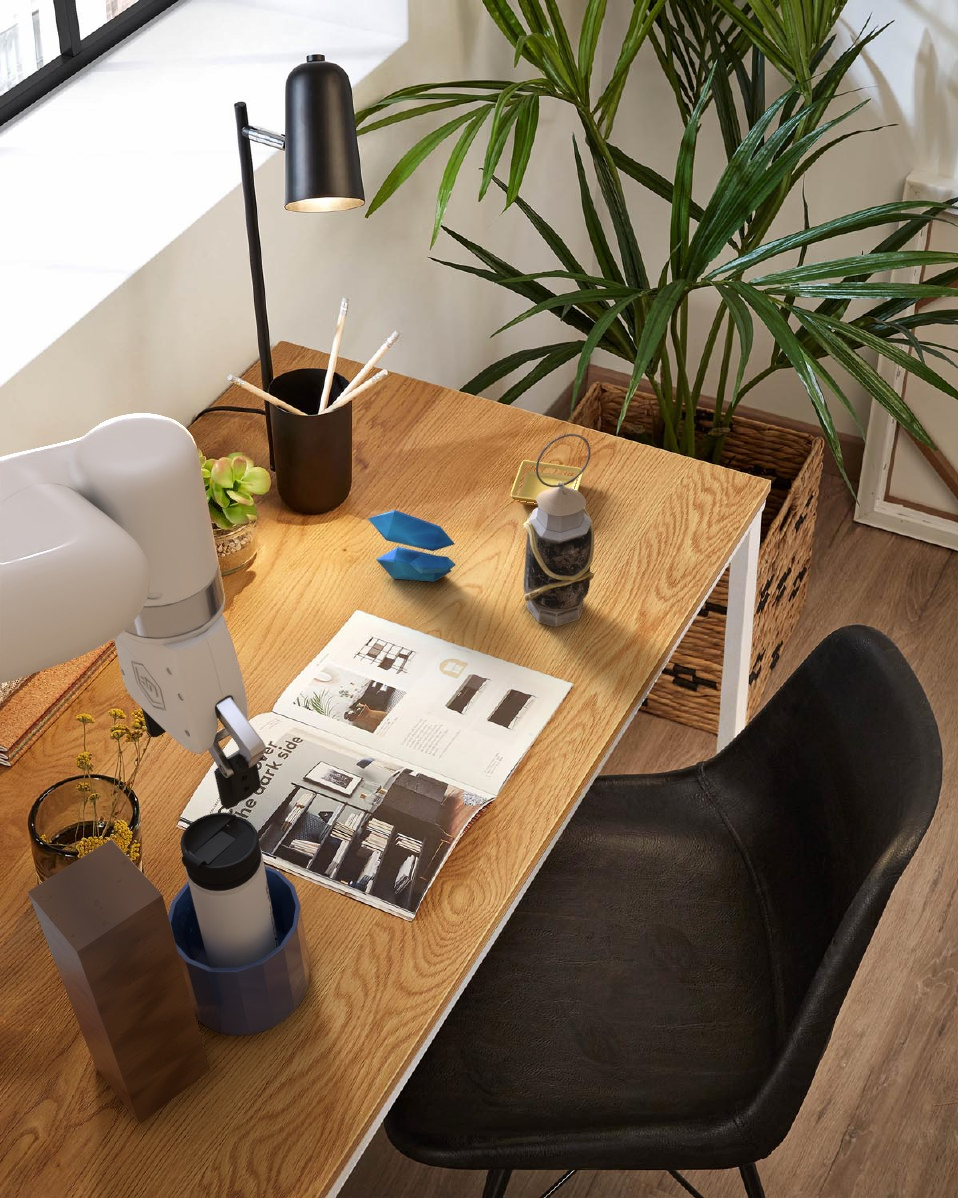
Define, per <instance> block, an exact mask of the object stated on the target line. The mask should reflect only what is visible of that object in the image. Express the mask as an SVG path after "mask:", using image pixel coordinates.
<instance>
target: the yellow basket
mask: <svg viewBox="0 0 958 1198" xmlns="http://www.w3.org/2000/svg"><path fill="white" fill-rule="evenodd" d="M536 463H537V461H535V460H528V459H524V460H522V461H521V463H520V466H519V468H518V471H517V474H516V477H515V480H514V483H513V484H512V485H513V486H512V488H511V491H510V494H509V495H510V497H511V498H512V499H513V500H514V501H515V500H519V501H516V502H517V503H519V504H522V505H527V506H535V507H538V504H534V503H537V502H536V498H537V496H538V495H539V494H540V493H541V492H543V491H545V490H548V489H551V488H555V487H549V486H546V485H544V484H542V483H541V482H540V481H539V479H538V477H537V474H536V472H535V471H527V472H526V475H525V478H524V481H523V484H522V487H521V490H520V493H519V495H518V496H516V495H517V491H518V488H519V484H520V480H521V477H522V474H523V470H524V467H525V465H532V466H536ZM538 467H541V468H542V467H546V468H552V469H559V470H562V471H566V472H569V473H580V471H581V470H582V469H583V468H581V467H578V466H571V465H570V466H569V465H563V464H556V463H549V462H542V461H539V465H538ZM584 472H585V470H584V471H583V472H582V474H581V475H580V476H579V478H578V481H577V484H576V487H575V490H577V491H578V492H579V490H580V486H581V484H582V483H581V482H582V479H583V475H584ZM538 473H539V476H540V478H541V479H542V481H544V482H545V483H547V484H550V485H558V483H559V482H560V481H561V482H563V483H566V482H568V481H570V480H571V479H573V478H574V476H567V475H559V474H551V473H543V472H538ZM575 483H576V479H575V480H574V481H573V482H571V483H569V484H567V485H565V487H570V488H573V489H574V486H575ZM520 501H526V502H520ZM527 502H534V503H527Z"/></svg>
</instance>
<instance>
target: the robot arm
mask: <svg viewBox="0 0 958 1198" xmlns="http://www.w3.org/2000/svg"><path fill="white" fill-rule="evenodd" d="M203 474H204V473H203V469H202V463H201V459H200V455H199V451H198V447H197V443H196V441H195V439H194V437H193V436H192V434H191V433H190V431H188V430H187V428H186V427H185V426H183V425H182V424H181V423H180V422H178V421H176V420H174V419H172V418H170V417H166V416H164V415H163V416H162V415H159V414H153V413H131V414H130V413H129V414H124V415H119V416H117V417H113V418H111V419H108V420H106V421H103V422H102V423H100V424H98V425H96V426H95V427H93V428H92V429H90V430H89V431H87V433H86V434H84V435H83V436H82V437H79V438H75V439H70V440H68V441H64V442H60V443H57V444H52V445H48V446H43V447H39V448H33V449H30V450H25V451H21V452H15V453H12V454H7V455H3V456H0V685H2V684H5V683H9V682H13V681H16V680H19V679H22V678H25V677H28V676H31V675H33V674H36V673H39V672H42V671H45V670H48V669H51V668H54V667H56V666H60V665H62V664H65V663H68V662H70V661H73V660H75V659H78V658H81V657H83V656H85V655H87V654H89V653H92V652H94V651H96V650H97V649H99V648H101V647H103V646H105V645H107V644H109V642H111V641H113V640H114V644H115V649H116V650H115V651H116V655H117V660H118V664H119V669H120V673H121V678H122V681H123V685H124V688H125V690H126V691H127V693H128V694H129V696H130V697H131V699H133V701H134V702H135V703H136V704H137V705H138V706H139V707H140V708H141V713H142V716H143V719H144V722H145V728H146V730H147V734H148V735H149V736H150V737H152V738H159V737H160V736H162V735H163V734H165V733H167V734H168V735H169V736H170V737H172V738H173V739H174V741H176V743H178V744H179V745H180V746H181V747H182V748H184V749H185V750H186V751H188V752H190V753H192V754H196V755H201V754H204V752H207V751H208V752H209V753H210V755H211V758H212V759H213V761H214V762H215V765H216V768H215V770H214V771H213V774H214V779H215V782H216V788H217V791H218V796H219V801H220V805H221V806H222V808H224V809H225V810H229V809H232V808H233V807H235V806H236V805H238V804H239V803H241V802H243V801H246V800H247V799H249V798H250V797H251V796H253V795H254V794H255V793H256V792H257V791H259V790H260V788H261V787H262V783H261V777H260V771H259V768H258V767H259V766H258V763H259V762H261V761H263V759H264V754H265V752H266V751H267V746H266V744H265V742H264V741H263V739H262V737H260V735H259V734H258V732H257V731H256V730H255V728H254V727H253V726H252V725H251V722H249V704H248V703H249V702H248V696H247V692H246V687H245V681H244V678H243V673H242V669H241V667H240V662H239V659H238V655H237V652H236V649H235V645H234V642H233V638H232V636H231V632H230V630H229V627H228V624H227V621H226V619H225V617H224V615H223V612H224V610H225V607H226V595H225V590H224V585H223V579H222V573H221V568H220V562H219V557H218V552H217V551H218V550H217V546H216V541H215V536H214V530H213V524H212V523H213V522H212V519H211V513H210V507H209V502H208V497H207V491H206V486H205V481H204V475H203ZM219 722H220V724H221V725H222V727H220V728H218V727H219ZM229 736H230V737H231V738H232V740H233V741H234V743H235V744H236V746H237V748H238V750H236V751H235V752H233V753H232V754H230V755H228V756H227V755H226V754H225V752H224V749H223V748H222V746H221V745H220V742H221V741H223V740H224V739H226V738H227V737H229Z"/></svg>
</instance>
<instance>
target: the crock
mask: <svg viewBox="0 0 958 1198" xmlns="http://www.w3.org/2000/svg"><path fill="white" fill-rule="evenodd" d="M264 867H265V873H266V878H267V884H268V889H269V895H270V900H271V906H272V912H273V917H274V923H275V928H276V934H277V939H278V945H279V947H277V948H276V949H275V950H273V951H272V952H270V953H269V954H268V955H266V956H265V957H264V958H262V959H261V960H259V961H256V962H253V963H250V964H246V965H243V966H240V967H237V968H213V967H209V963H208V959H207V955H206V951H205V947H204V943H203V939H202V935H201V931H200V927H199V923H198V919H197V915H196V910H195V906H194V902H193V898H192V894H191V890H190V886H189V882H188V881H187V882H185V884H184V885H183V886H182V887H181V889H180V890H179V891H178V893H177V894H176V895H175V897H174V898H173V900H172V901H171V904H170V907H169V909H168V913H167V914H168V917H169V921H170V925H171V929H172V932H173V936H174V940H175V943H176V947H177V951H178V954H179V958H180V962H181V965H182V969H183V973H184V976H185V980H186V984H187V987H188V991H189V995H190V998H191V1002H192V1006H193V1010H194V1013H195V1017H196V1020H198V1022H199V1023H200V1024H202V1025H204V1026H205V1027H206V1028H208V1029H209V1030H212V1031H214V1032H216V1033H220V1034H224V1035H227V1036H228V1035H229V1036H238V1037H239V1036H250V1035H255V1034H258V1033H263V1032H265V1031H267V1030H270V1029H272V1028H274V1027H277V1026H278V1025H279V1024H281V1023H282V1022H284V1021H285V1020H287V1018H289V1017H290V1016H291V1015H292V1014H293V1013H294V1012H295V1010H296V1009H297V1008H298V1007H299V1005H300V1004H301V1003H302V1001H303V999H304V998H305V995H306V994H307V990H308V987H309V982H310V969H311V965H310V964H311V963H310V958H309V951H308V945H307V937H306V931H305V924H304V920H303V919H304V918H303V912H302V907H301V906H302V905H301V902H300V898H299V896H298V893H297V890H296V887H295V885H294V884H293V882H291V881H290V880H289V879H288V878H287V877H286V875H284V874H283V873H282V872H281V871H280V870H279V869H277V868H274V867H272V866H270V865H266V864H264Z"/></svg>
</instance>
